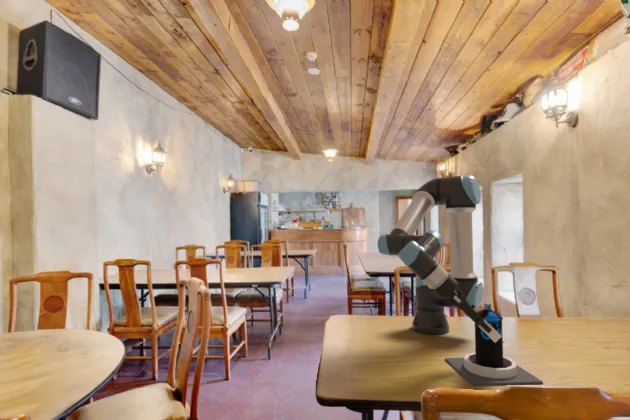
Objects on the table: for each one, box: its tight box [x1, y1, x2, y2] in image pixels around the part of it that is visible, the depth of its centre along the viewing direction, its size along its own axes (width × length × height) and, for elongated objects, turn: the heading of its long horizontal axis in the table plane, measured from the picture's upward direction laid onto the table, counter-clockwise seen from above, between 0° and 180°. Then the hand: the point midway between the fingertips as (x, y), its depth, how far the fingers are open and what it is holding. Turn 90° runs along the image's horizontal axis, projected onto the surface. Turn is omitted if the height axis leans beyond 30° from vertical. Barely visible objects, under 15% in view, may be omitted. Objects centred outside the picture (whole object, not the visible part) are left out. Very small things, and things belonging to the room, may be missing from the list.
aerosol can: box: [474, 302, 504, 368], centre depth 115 cm, size 8×8×20 cm
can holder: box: [444, 352, 544, 387], centre depth 115 cm, size 20×20×3 cm
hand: (492, 332), depth 115 cm, fingers open, 13 cm apart
